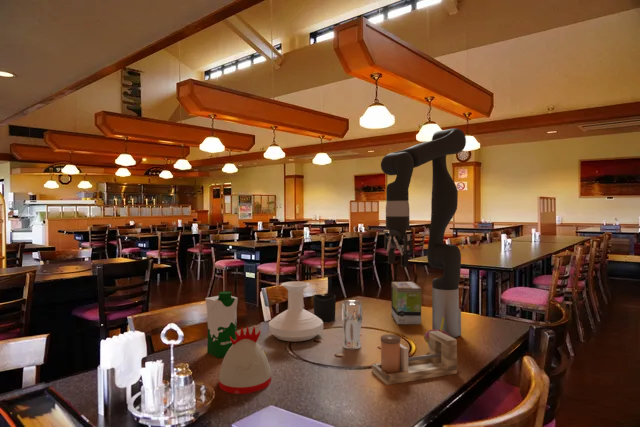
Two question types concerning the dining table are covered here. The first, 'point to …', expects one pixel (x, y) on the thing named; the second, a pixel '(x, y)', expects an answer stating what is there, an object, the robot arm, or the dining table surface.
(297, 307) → the white vase
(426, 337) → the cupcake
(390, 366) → the jar
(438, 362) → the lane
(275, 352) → the dining table surface
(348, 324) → the beer glass
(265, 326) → the dining table surface
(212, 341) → the milk carton
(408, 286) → the tea box
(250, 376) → the kitchen timer
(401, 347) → the pusher
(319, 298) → the pen holder
